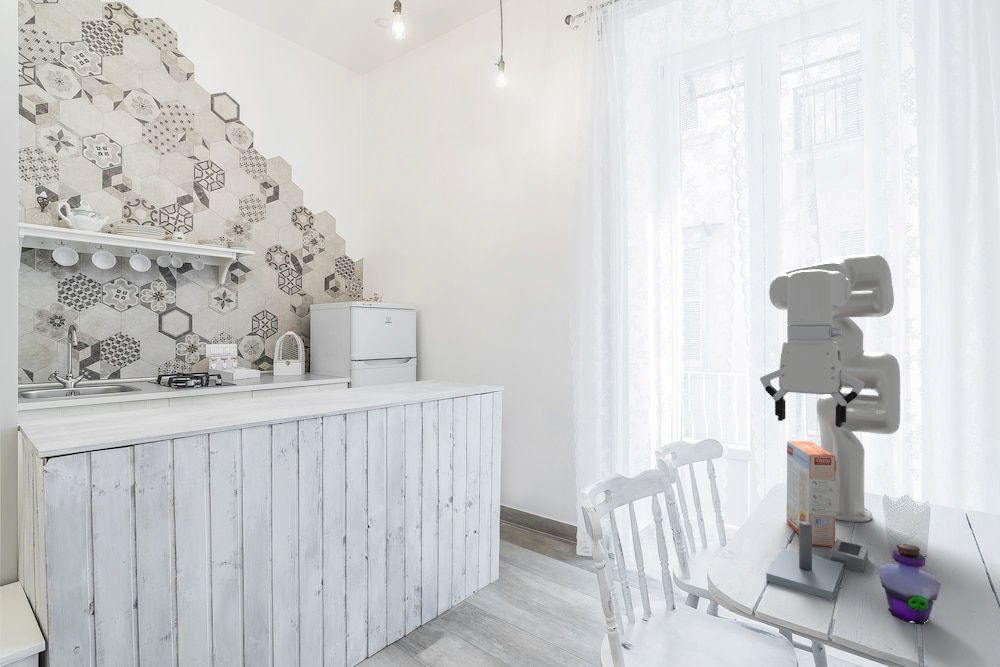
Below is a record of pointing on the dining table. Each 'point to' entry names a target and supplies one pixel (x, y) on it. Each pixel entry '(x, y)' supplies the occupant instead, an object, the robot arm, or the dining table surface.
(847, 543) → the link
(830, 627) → the dining table surface
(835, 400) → the robot arm
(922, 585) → the potion bottle
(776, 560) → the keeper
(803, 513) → the cracker box
